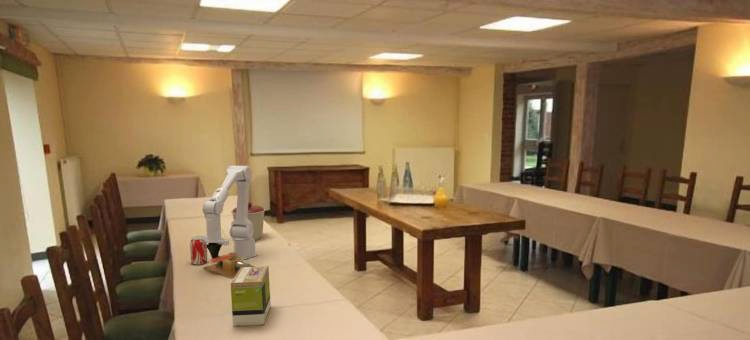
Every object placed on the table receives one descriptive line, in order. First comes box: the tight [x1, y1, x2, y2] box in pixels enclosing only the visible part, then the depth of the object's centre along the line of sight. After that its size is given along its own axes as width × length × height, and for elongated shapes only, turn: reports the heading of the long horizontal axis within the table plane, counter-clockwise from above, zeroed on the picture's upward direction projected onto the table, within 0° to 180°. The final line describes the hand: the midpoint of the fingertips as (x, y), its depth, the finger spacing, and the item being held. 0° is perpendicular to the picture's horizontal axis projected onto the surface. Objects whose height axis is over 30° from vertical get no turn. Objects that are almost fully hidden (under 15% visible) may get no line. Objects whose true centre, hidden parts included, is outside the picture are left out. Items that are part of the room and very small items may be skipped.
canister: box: [230, 201, 266, 242], centre depth 240 cm, size 18×18×21 cm
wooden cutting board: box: [202, 255, 256, 279], centre depth 193 cm, size 21×14×5 cm, turn 55°
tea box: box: [230, 265, 272, 327], centre depth 146 cm, size 15×10×15 cm
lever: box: [210, 252, 238, 264], centre depth 190 cm, size 12×3×2 cm, turn 145°
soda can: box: [189, 235, 208, 266], centre depth 201 cm, size 7×7×12 cm
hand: (215, 259), depth 188 cm, fingers closed
